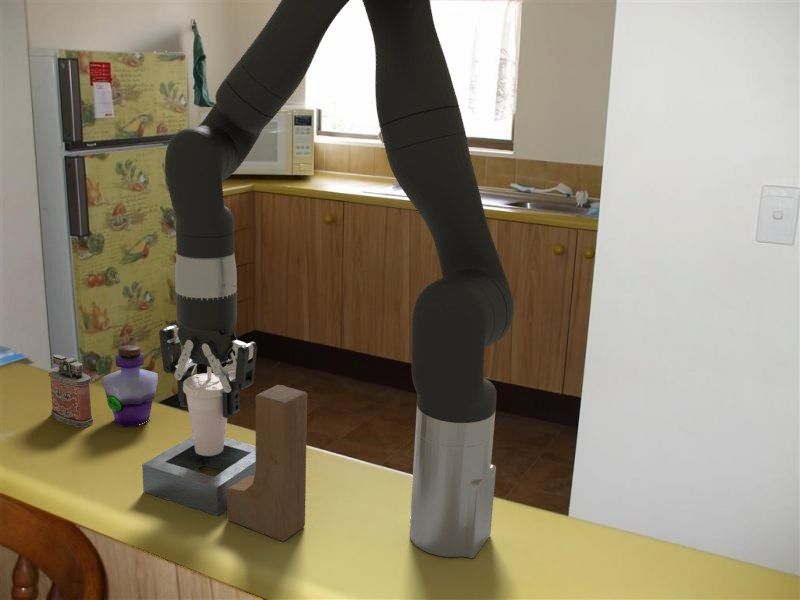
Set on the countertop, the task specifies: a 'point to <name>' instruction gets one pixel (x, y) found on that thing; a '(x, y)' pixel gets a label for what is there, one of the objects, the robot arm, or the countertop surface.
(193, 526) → the countertop surface
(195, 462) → the frame
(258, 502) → the wooden block
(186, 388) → the smoothie
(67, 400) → the lighter
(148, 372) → the potion bottle
